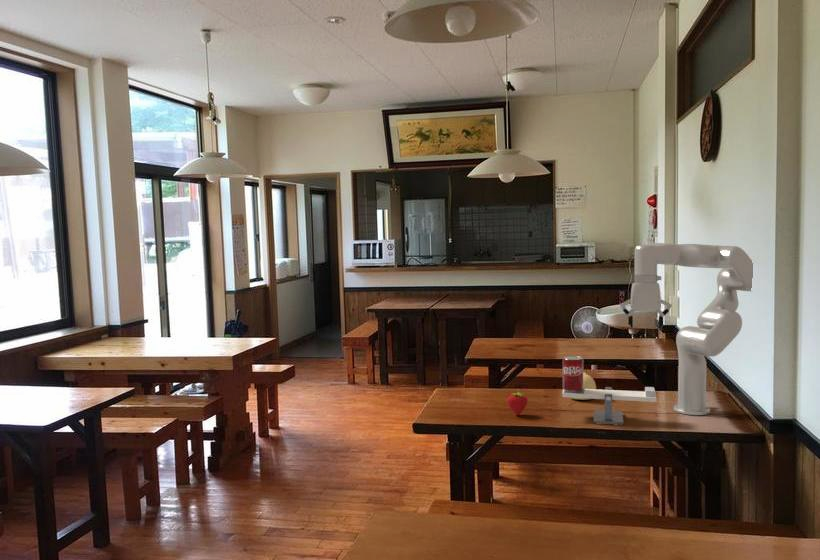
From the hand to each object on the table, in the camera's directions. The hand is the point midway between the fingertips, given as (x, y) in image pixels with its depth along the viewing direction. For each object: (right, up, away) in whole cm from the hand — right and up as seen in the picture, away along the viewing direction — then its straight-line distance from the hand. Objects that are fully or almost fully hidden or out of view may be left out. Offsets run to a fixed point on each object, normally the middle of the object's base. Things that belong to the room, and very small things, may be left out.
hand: (645, 327), depth 241 cm
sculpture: (-15, -31, +31) cm, 47 cm away
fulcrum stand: (-13, -33, +2) cm, 36 cm away
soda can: (-25, -23, +5) cm, 34 cm away
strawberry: (-44, -33, +10) cm, 56 cm away
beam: (-13, -24, +2) cm, 27 cm away
